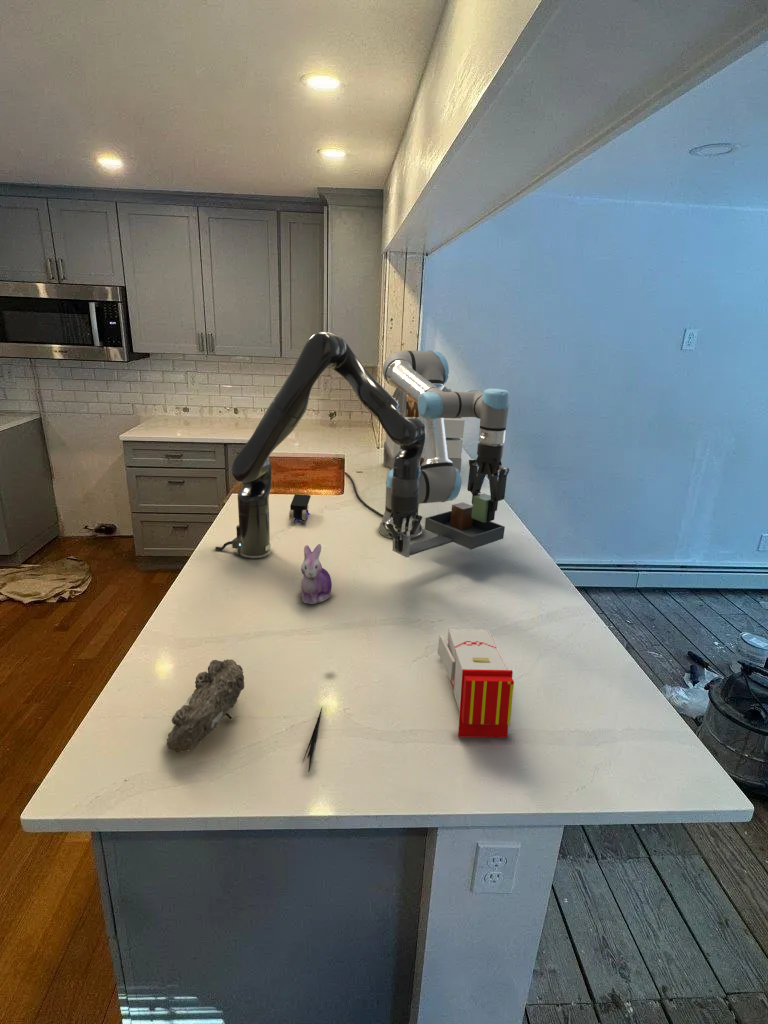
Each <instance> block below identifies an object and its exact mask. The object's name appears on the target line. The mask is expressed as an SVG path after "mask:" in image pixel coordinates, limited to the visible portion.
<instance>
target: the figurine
mask: <svg viewBox="0 0 768 1024" xmlns="http://www.w3.org/2000/svg"><path fill="white" fill-rule="evenodd" d="M321 551H322V544H320V543H319V544H317V545H316V546H315V548H314V549H313V551H312V550H311V547H310V546H309V545H308V544H306V545H305V546H304V547H303V555H304V560H303V561H302V564H301V567H300V572H301V574H302V575H303V576H302V578H301V580H300V589H301V602H302V603H304V604H308V605H315V604H317V603H323V602H325V601H327V600H328V599H330V597H331V595H332V588H333V584H332V582H333V581H332V577H331V575H330V573H329V572H328V570H327V569H325V568H324V567H323V565H322V563H321V561H320V555H321Z"/></svg>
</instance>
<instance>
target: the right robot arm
mask: <svg viewBox="0 0 768 1024" xmlns="http://www.w3.org/2000/svg"><path fill="white" fill-rule="evenodd" d="M449 374H450V368H449V363H448V360H447V358H446V356H445V355H444V354H443V353H442V352H440V351H437V350H436V351H434V350H405V349H404V350H398V351H395V352H393V353H391V354H390V355H389V356H388V357H387V358H386V359H385V361H384V363H383V365H382V376H383V378H384V380H385V381H386V382H387V384H389V385H390V386H391V387H393V388H395V389H396V388H400V389H401V390H402V391H403V392H404V393H406V394H407V396H409V397H410V398H412V399H413V400H414V401H415V402H416V403H417V404H418V413H419V419H421V420H422V421H423V423H424V425H425V428H426V438H425V443H424V447H423V458H424V462H423V463H422V464H421V466H420V468H419V495H418V508H417V509H416V514H418V515H420V514H419V507H420V506H419V505H420V504H421V505H422V504H433V503H446V502H451V501H454V500H456V498H457V497H458V496H459V494H460V492H461V488H462V474H460V473H459V470H458V469H456V468H453V462H452V461H451V460H449V459H448V454H447V446H446V437H445V428H444V419H443V418H453V417H461V418H476V419H479V430H478V439H477V440H478V443H477V448H476V455H477V457H476V458H472V459H469V460H468V465H469V470H468V479H467V487H466V488H467V491H468V492H470V493H471V505H473V496H476V495H480V494H482V491H481V490H482V487H483V485H484V481H485V478H486V476H487V479H488V482H489V493H490V494H489V495H490V496H491V500H489V502H488V511H487V520H486V521H487V522H489V521H491V522H493V521H494V520H495V517H494V515H496V512H497V511H498V505H499V502H500V501H503V500H505V498H506V496H505V495H506V488H507V480H508V479H507V477H508V476H509V475H508V474H509V473H510V468H509V467H505V466H503V463H502V458H503V456H504V449H505V448H504V447H505V446H504V444H505V441H506V433H507V422H508V416H509V415H508V414H509V409H510V408H509V407H510V392H509V391H508V390H506V389H502V388H485V389H484V390H483V392H481V391H479V390H476V389H467V390H464V391H454V392H453V391H452V392H443V391H442V389H443V388H444V387H445V384H446V383H447V382H448V379H449ZM344 475H346V476H347V477H348V479H349V480H350V482H351V484H352V487H353V490H354V493H355V496H356V497H357V500H359V501H360V503H362V504H363V505H364V506H365V507H366V508H367V509H369V510H370V511H371V512H374V513H375V514H376V515H378V516H380V517H382V519H381V522H379V527H378V533H379V534H380V535H381V536H382V537H385V538H387V539H389V540H393V538H391V537H390V536H389V534H388V533H387V531H386V529H385V528H384V526H383V522H384V521H385V522H387V521H388V520H389V519H390V515H391V512H392V510H391V507H390V500H391V483H392V478H393V469H391V470H390V469H389V470H388V472H387V475H386V480H385V504H384V505H385V507H384V508H385V509H384V513H383V514H382V513H381V512H379V511H378V510H376V509H374V508H373V507H371V506H370V505H368V504H367V503H366V502H365V501H363V499H362V498H361V497H360V495H359V493H358V491H357V488H356V485H355V482H354V480H353V478H352V476H351V475H350V474H348V473H347V472H346V471H344ZM421 522H422V521H421ZM421 522H420V523H419V525H418V527H417V529H416V531H415V533H414V535H410V537H411V539H410V541H411V540H415V539H418V538H420V537H421V536H422V535H423V525H422V524H421ZM393 526H394V524H393ZM412 528H413V526H412ZM411 530H412V529H411ZM405 531H406V530H405Z"/></svg>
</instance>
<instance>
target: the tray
mask: <svg viewBox="0 0 768 1024" xmlns="http://www.w3.org/2000/svg"><path fill="white" fill-rule="evenodd" d="M451 511H452V510H449V511H445V512H441V513H439V514H438V513H437V514H434V515H430V516H427V517H425V518H424V519H425V520H424V530H425V531H427V532H429V533H431V534H434V535H436V536H433V537H430V538H426V539H423V540H420V541H417V542H413V543H411V540H412V539H411V537H409V536H407V535H405V534H403V549H402V552H398V551H396V549H395V539H394V538H393V539H392V551H393V552H395V553H396V554H398V555H401V557H405V558H410V556H414V555H416V554H419V553H424V552H426V551H428V550H432V549H435V548H438V547H441V546H444V545H448V544H451V543H455V544H457V545H459V546H462V547H464V548H466V549H468V550H471V551H472V550H475V549H477V548H480V547H483V546H486V545H489V544H492V543H495V542H497V541H501V540H504V537H505V528H506V526H504V525H502V524H500V523H497V522H494V521H489V522H484V523H483V522H481V521H478V520H476V519H473V523H472V527H471V528H468V529H464V530H460V529H457V528H455V527H453V526H450V521H451ZM398 535H399V534H398ZM410 539H411V540H410Z"/></svg>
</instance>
